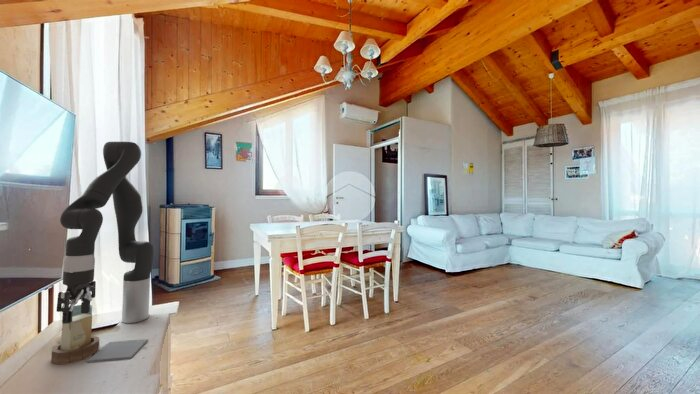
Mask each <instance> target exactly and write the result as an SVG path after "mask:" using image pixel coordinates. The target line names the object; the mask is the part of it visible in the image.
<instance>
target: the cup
mask: <svg viewBox="0 0 700 394" xmlns="http://www.w3.org/2000/svg"><path fill="white" fill-rule="evenodd" d="M72 311H73V315H72V317H74V316H77V315H81V314H82V313H81V304H75V305H74V307H73V310H72ZM83 314H89V315H92V316H93V305H92V304H90V312H89V313H83Z"/></svg>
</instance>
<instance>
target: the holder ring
mask: <svg viewBox="0 0 700 394" xmlns="http://www.w3.org/2000/svg"><path fill="white" fill-rule="evenodd" d="M99 350H100V337H99V336H96V335H91V344H89V345H87V346H84V347H82V348H78V349H74V350H67V351H61V342H59V343H57V344H55V345H54V346H53V347H52V348H51V359H50V361H51V363H53V364H56V365H65V364H72V363H76V362H78V361H79V362H80V361H84V360H85V359H89V358H91V357H92V356H93V355H95V354H96V353H97V352H98V351H99Z"/></svg>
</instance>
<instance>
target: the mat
mask: <svg viewBox="0 0 700 394" xmlns="http://www.w3.org/2000/svg"><path fill="white" fill-rule="evenodd" d="M148 341H149V339H148V338H147V339H146V338H145V339H133V340H123V341H122V340H121V341H119V340H118V341H110V342H108V343H106V344H105V345H104V346H103V347H102V348H101V349H99V351H98V352H96V353H95V354H94V355H92V356H90V357H89V358H88V360H87V363H95V362H108V361H119V360H121V361H122V360H128V359H129V360H130V359H133V357H134V356H135V355H136V354H137V353H139V351H140V350H141V349H142V347H144V345H146V343H147V342H148Z"/></svg>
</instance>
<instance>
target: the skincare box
mask: <svg viewBox="0 0 700 394" xmlns="http://www.w3.org/2000/svg"><path fill="white" fill-rule="evenodd" d="M61 325H62V326H61V340H60V343H61V351H67V350H74V349H78V348H82V347H84V346H87V345H89V344H91V336H92V327H93V326H92V325H93V314H92V315H89V314H81V315H77V316H74V317H72V322H71V323H67V324H63V323H62V322H61Z"/></svg>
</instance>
